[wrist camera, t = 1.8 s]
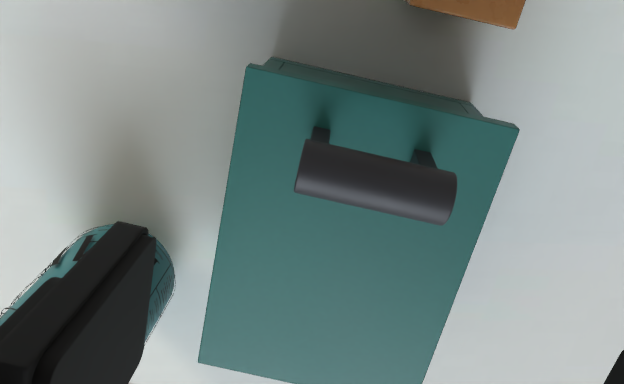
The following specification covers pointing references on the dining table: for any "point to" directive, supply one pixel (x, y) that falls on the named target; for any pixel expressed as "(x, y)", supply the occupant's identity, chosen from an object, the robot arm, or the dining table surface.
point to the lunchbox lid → (345, 230)
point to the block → (477, 10)
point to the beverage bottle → (64, 263)
